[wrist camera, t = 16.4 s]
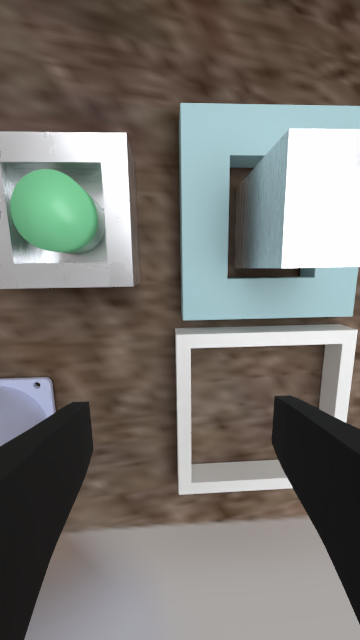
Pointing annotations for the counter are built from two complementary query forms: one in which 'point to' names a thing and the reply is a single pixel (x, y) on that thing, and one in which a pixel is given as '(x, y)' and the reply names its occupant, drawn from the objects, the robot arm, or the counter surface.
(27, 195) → the button
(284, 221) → the billet
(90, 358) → the counter surface
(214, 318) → the pale blue window frame
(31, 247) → the button housing
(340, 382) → the white square frame
